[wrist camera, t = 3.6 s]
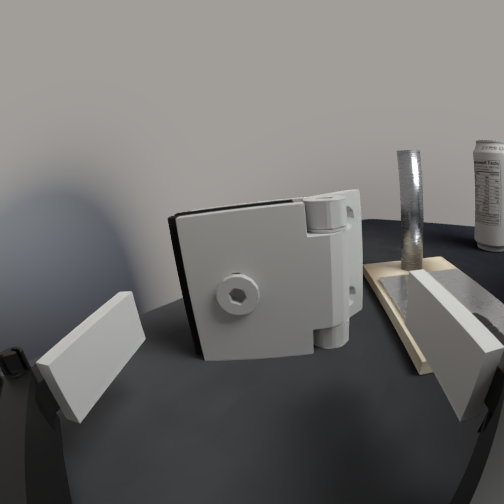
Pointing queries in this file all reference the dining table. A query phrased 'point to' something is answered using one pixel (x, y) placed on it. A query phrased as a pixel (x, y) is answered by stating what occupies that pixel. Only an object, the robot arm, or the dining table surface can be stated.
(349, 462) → the dining table surface
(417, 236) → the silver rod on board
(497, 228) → the energy drink can
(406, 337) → the mounting board
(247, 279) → the hinge
